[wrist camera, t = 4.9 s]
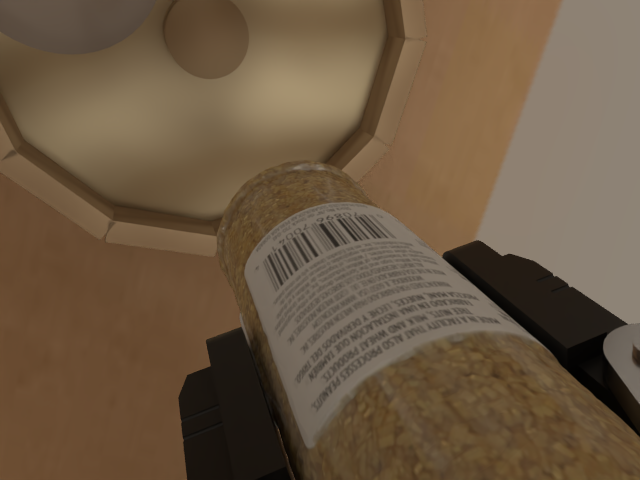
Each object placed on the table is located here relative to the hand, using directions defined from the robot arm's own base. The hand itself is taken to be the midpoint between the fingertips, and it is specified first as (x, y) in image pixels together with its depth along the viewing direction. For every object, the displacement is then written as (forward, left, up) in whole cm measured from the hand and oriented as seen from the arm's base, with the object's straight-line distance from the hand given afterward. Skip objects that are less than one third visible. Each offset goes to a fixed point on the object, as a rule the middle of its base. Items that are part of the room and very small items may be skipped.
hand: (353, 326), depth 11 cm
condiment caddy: (+5, 0, -16) cm, 17 cm away
